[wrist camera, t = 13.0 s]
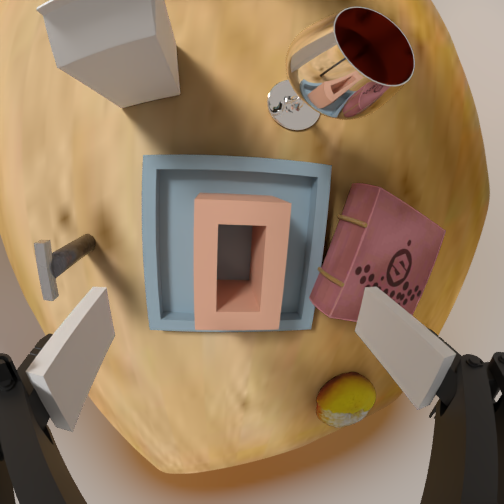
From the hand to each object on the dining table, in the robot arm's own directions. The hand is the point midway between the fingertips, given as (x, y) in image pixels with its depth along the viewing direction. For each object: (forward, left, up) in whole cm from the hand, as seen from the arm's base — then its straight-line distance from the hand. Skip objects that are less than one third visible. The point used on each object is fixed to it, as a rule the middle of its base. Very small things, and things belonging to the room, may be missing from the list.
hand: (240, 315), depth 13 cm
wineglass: (-15, +7, -19) cm, 26 cm away
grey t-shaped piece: (+2, -17, -19) cm, 26 cm away
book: (+2, +18, -18) cm, 26 cm away
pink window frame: (+2, +1, -19) cm, 19 cm away
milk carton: (-18, -10, -19) cm, 29 cm away
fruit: (+27, +20, -20) cm, 39 cm away
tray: (+2, +1, -19) cm, 19 cm away
